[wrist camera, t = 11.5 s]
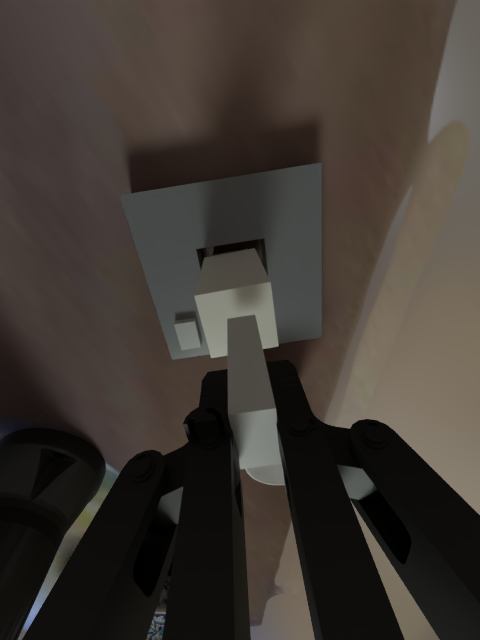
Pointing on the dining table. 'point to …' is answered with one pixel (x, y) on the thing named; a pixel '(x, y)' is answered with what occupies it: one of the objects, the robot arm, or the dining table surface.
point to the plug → (234, 297)
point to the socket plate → (225, 228)
